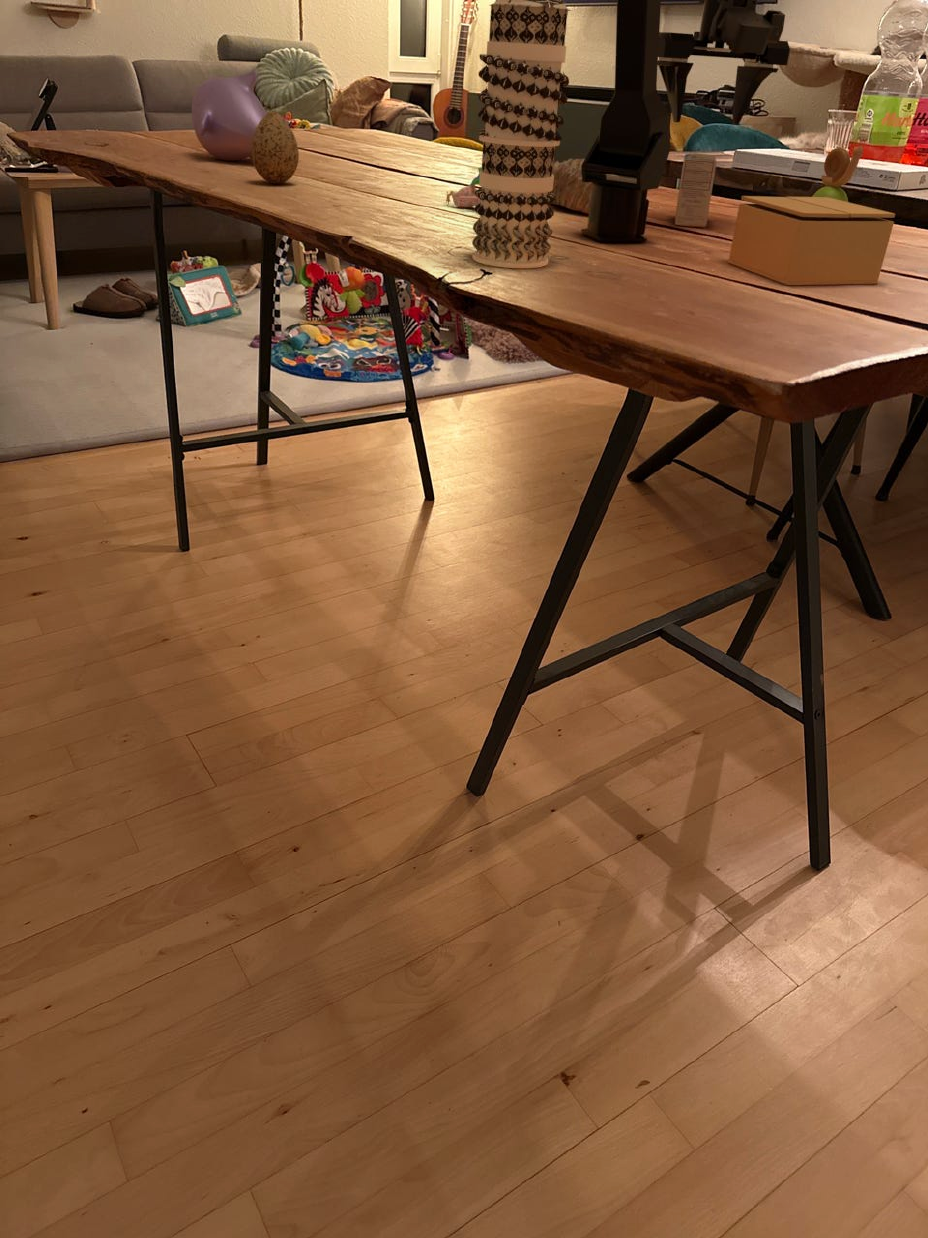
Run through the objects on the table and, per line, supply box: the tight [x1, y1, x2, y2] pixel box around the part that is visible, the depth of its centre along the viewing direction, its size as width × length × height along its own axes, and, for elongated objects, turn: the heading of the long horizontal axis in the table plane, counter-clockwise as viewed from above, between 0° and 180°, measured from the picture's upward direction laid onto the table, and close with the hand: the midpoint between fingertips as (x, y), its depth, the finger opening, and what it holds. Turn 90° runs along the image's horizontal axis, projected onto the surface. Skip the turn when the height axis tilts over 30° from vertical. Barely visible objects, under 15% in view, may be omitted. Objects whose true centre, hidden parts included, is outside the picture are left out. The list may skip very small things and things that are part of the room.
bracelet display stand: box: [471, 0, 572, 269], centre depth 97 cm, size 9×9×25 cm
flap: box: [741, 195, 849, 218], centre depth 102 cm, size 6×12×1 cm, turn 18°
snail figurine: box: [811, 137, 868, 202], centre depth 136 cm, size 5×6×12 cm
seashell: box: [551, 157, 620, 215], centre depth 137 cm, size 14×9×10 cm
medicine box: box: [674, 153, 717, 229], centre depth 132 cm, size 8×4×9 cm, turn 168°
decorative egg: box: [251, 110, 300, 185], centre depth 143 cm, size 7×7×10 cm
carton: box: [728, 196, 896, 286], centre depth 104 cm, size 12×12×7 cm
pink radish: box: [445, 166, 482, 209], centre depth 131 cm, size 6×6×15 cm
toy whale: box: [191, 70, 289, 162], centre depth 163 cm, size 14×25×16 cm, turn 46°
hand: (706, 123), depth 127 cm, fingers open, 9 cm apart
